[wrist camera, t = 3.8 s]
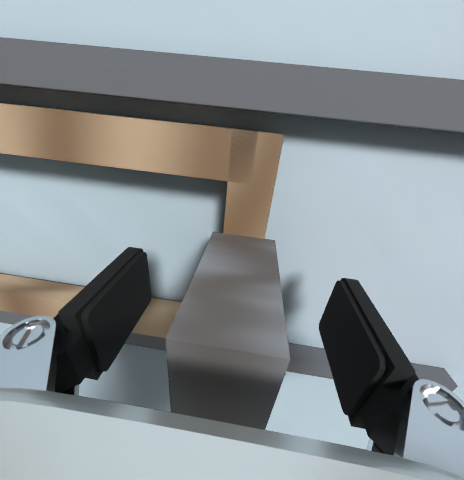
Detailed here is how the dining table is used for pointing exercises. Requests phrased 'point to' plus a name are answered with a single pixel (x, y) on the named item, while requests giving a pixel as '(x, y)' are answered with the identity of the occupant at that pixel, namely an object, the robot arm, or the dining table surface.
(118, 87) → the guide rails
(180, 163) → the frame
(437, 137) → the dining table surface
